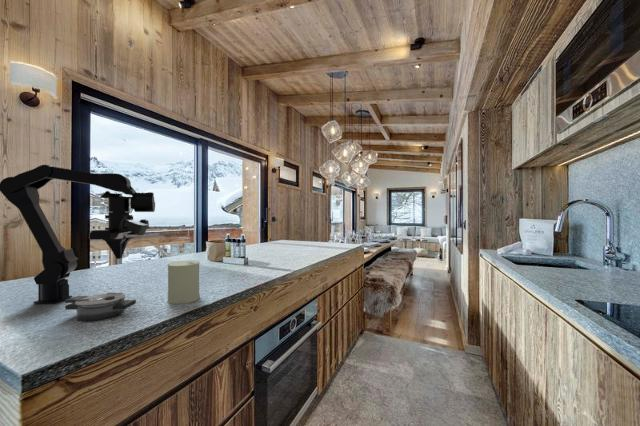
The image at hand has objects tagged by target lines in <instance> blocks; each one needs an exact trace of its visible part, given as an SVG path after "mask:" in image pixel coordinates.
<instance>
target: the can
mask: <svg viewBox="0 0 640 426" xmlns="http://www.w3.org/2000/svg"><path fill="white" fill-rule="evenodd" d="M200 264H201V263H200V260H199V261H198V260H177V261H173V262H169V263H168V264H167V280H168V281H167V291H168V292H167V303H169V304H170V305H171V304H172V305H184V304H190V303H194V302H196V301H198V300H199V299H200V298H201V297H200Z"/></svg>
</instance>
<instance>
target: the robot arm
mask: <svg viewBox="0 0 640 426" xmlns="http://www.w3.org/2000/svg"><path fill="white" fill-rule="evenodd" d="M52 180H59V181H60V180H61V181H67V182H74V183H79V184H80V183H81V184H85V185H91V186H92V185H93V186H97V187H101V188H104V189H107V190H106V191H105V192H104V193H103V194H101V195H100V196H99V197H100V198H101V199H107V200H108V202H107V203H108V207H107V208H108V209H107V210H108V212H107V213H108V214H105V215H104V219H107V220H108V221H107V222H108V223H107V224H108V227H105V228H104V229H93V230H92V229H91V231H90V232H88V239H89V240H92V241H93V240H101V241H104V242H105V243H106V244H107V246H108V247H109V249H110V251H112V253H113V255H114V256H115V258H116V259H117V260H120V259H123V256H124V252H125V250H126V248H127V245H128V243H129V242H130V241H131V240H133V239H134V238H135V236H142V235H145V234H146V231H147V230H149V229H150V226H149V225H150V222H149V220H148V219H146V218H145V219H140V220H137V219H134V215H133V214H130V210H134V213H154V212H155V210H156V202H155V196H154V195H155V194H154V192H150V191H149V192H137V191H136V189H134V188H133V187H132V186H131V184H132V182H131V180H130V179H129V178H128V177H127V176H125V175H123V174H120V173H110V172H109V173H105V172H103V173H94V172H93V173H92V172H89V171H88V172H87V171H81V170H75V169H70V168H63V167H57V166H52V165H50V164H41V165H39V166H37V167H35V168H33V169H30V170H26V171H23V172H21V173H18V174H16V175H14V176H9V177H8V176H7V177H5V178H3V179H2V180H1V181H0V193H1V194H2V195H3V196H4V197H5V199H7V201H8V202H9V203H10V204H12V205H13V206H15V207H16V208H17V209H18V210H19V212H20V215H21V216H22V218H23V220H24V221H25V223H26V224H27V227H28V228H29V230H30V232H31V234H32V236H33V238H34V240H35V242H36V243H37V245H38V246H39V248H40V250H41V263H42V266H43V270H42V271H40V272H39V273H38V274H36V276H34V277H33V280H34V282H35V285H37V287H38V298H37V299H38V300H35V301H33V302H32V303H33V304H57V303H59V302H62V301H65V300H66V299H69V298H73V295H70V284H69V279H67V278H69V277H70V275H71V273H72V272H74V271H75V270H76V268H77V266H78V261H77V260H79V258H78V257H77V256H76V255H75V251H74V250H73V248H72V247H70V248H67V249H66V248H65V247H64V246H63V245H62V244H61V243H60V241H59V239H58V237H57V236H56V234H55V231H54V230H53V227H52V226H51V223H50V222H49V220H48V218H47V216H46V215H45V213H44V210H43V209H42V206H40V193H39V191H38V190H39V189H42V188H43V187H44V186H46V185H47V184H48V183H49V182H51V181H52ZM109 190H111V191H113V192H114V193H112V192H111V191H109ZM115 192H118V193H115ZM122 193H123V194H124V195H129V196H123V194H122ZM131 235H132V236H131ZM134 235H135V236H134Z"/></svg>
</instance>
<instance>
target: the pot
mask: <svg viewBox="0 0 640 426" xmlns="http://www.w3.org/2000/svg"><path fill="white" fill-rule="evenodd" d="M136 302H137V300H136V299H125V298H124V299H122V300H120V301H117V302H113V303H108V304H102V305H92V306H79V305H75V303H68V304H66V305H65V310H66V311H67V310H70V311H71V310H72V311H73V310H76V320H77V321H78V322H80V323H95V322H96V323H97V322H102V321H106V320H110V319H114V318H117V317H120V316H121V315H123V314H124V313H125V310H126V309H127V308H128V309H129V308H130V307H132V306H134V305H136V304H137V303H136Z"/></svg>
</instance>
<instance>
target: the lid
mask: <svg viewBox="0 0 640 426" xmlns="http://www.w3.org/2000/svg"><path fill="white" fill-rule="evenodd" d="M125 298H126V294H125V293H123V292H107V293H99V294H93V295H92V294H91V295H76V296H74V297H73V296H72V297H71V298H68V299H65V300H64V304H71V303H75V305H79V306H92V305H102V304H108V303H113V302H117V301H120V300H122V299H124V300H125Z"/></svg>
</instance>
